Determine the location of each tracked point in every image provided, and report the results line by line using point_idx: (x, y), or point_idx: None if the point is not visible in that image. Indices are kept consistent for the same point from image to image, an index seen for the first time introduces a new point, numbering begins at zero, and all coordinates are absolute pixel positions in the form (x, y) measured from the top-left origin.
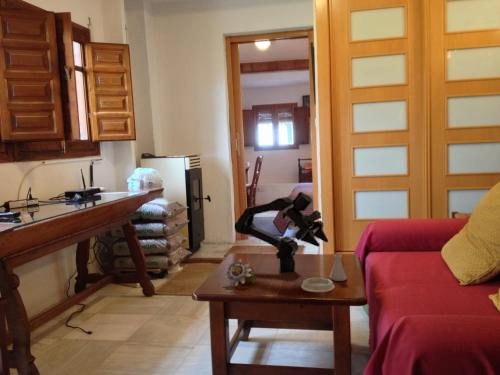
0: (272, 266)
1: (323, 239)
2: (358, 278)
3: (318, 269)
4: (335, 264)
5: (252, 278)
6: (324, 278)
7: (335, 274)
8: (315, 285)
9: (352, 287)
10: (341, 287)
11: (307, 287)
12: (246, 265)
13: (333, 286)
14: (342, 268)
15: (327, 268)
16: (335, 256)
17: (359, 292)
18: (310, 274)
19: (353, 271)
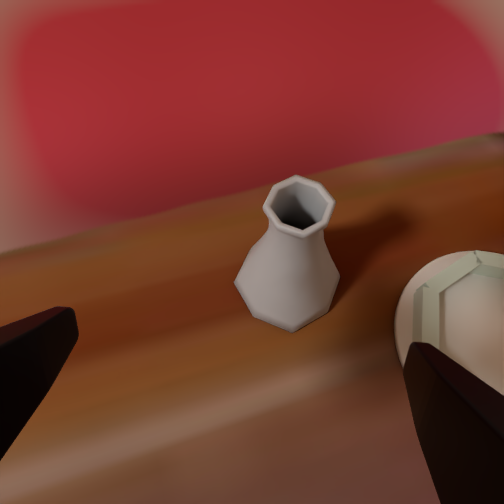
0: None
1: (29, 391)
2: (240, 194)
3: (107, 477)
4: (318, 250)
5: None
6: (424, 318)
7: (331, 271)
8: None
9: (392, 187)
10: (422, 228)
11: None
12: None
13: (460, 256)
14: (296, 223)
15: (70, 414)
16: (330, 215)
17: (442, 150)
18: (259, 496)
19: (116, 242)
